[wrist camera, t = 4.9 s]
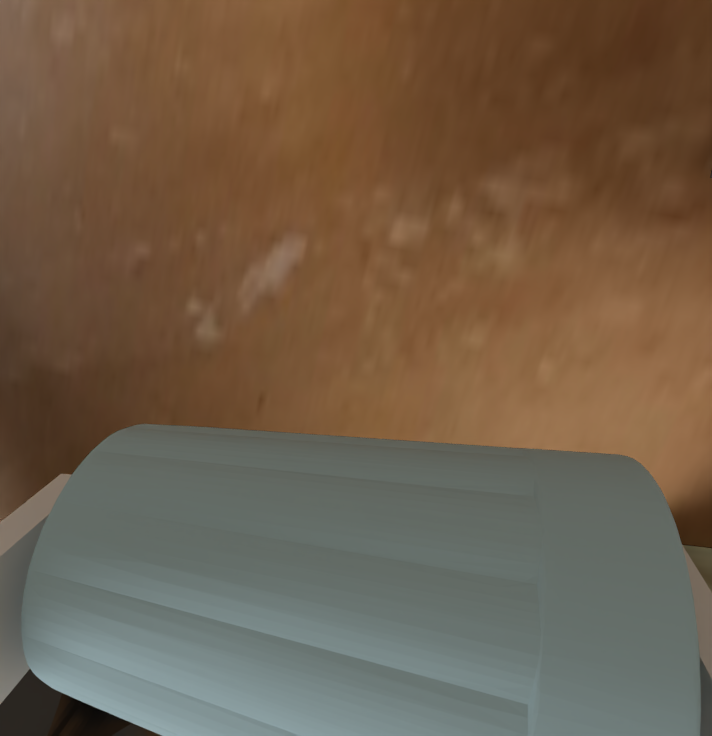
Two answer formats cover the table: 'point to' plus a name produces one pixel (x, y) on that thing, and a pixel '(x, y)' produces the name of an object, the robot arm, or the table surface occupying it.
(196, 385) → the table surface
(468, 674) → the cup
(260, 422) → the table surface
